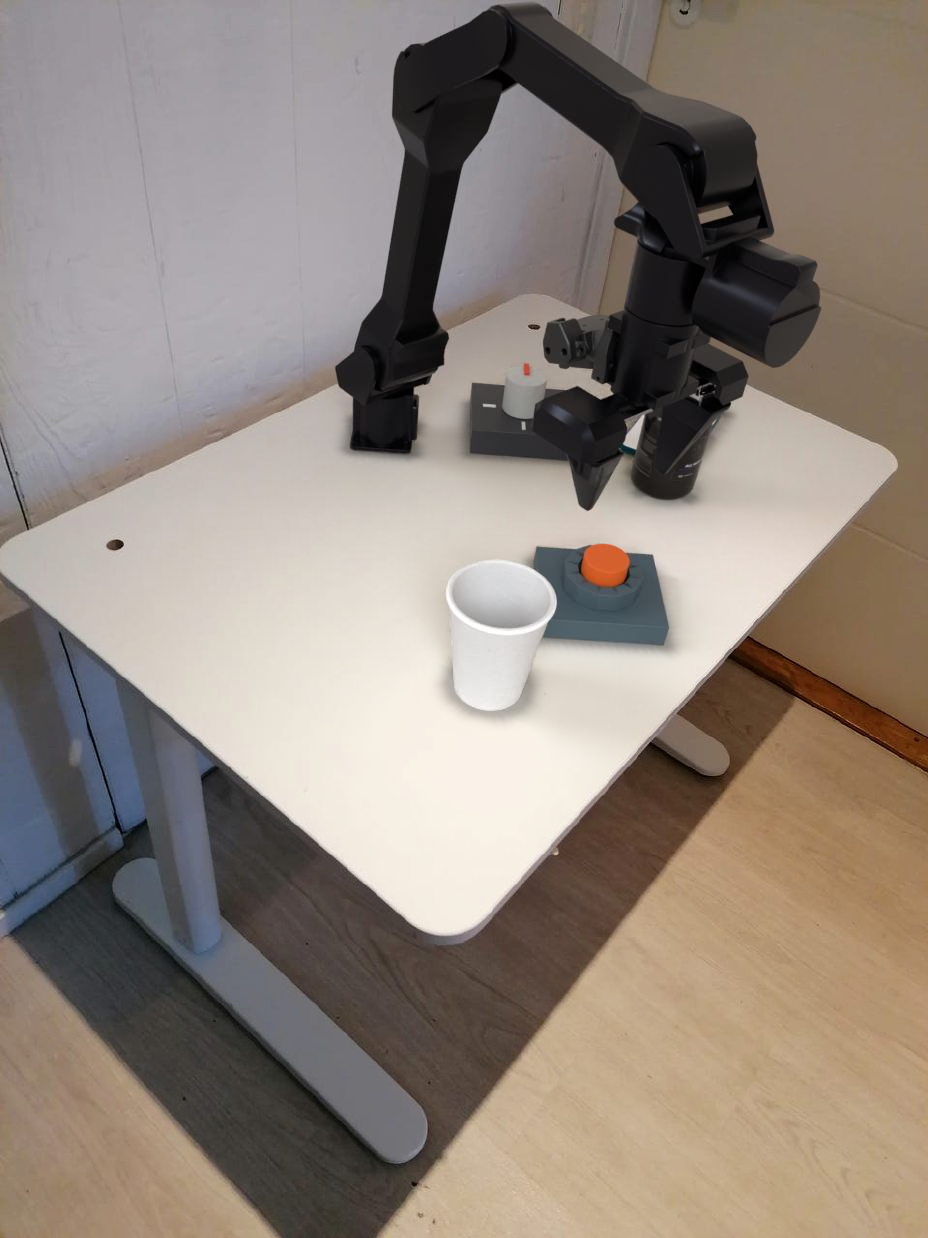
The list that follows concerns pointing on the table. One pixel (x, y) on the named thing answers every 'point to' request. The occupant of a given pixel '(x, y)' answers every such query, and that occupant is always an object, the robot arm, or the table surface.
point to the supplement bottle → (678, 477)
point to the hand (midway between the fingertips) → (623, 489)
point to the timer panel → (505, 427)
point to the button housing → (603, 600)
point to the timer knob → (523, 391)
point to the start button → (605, 565)
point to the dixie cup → (496, 629)
